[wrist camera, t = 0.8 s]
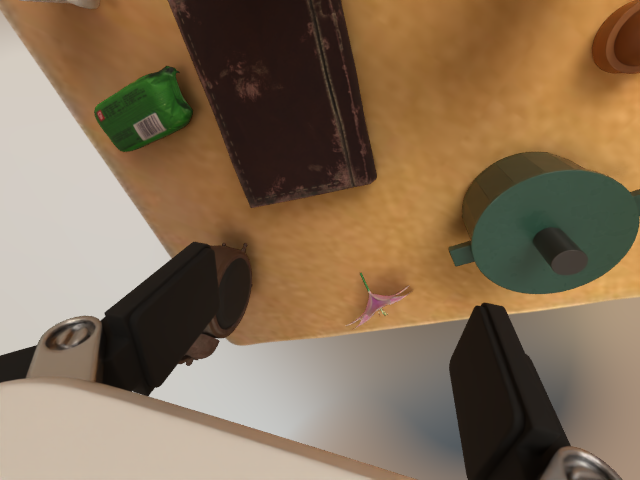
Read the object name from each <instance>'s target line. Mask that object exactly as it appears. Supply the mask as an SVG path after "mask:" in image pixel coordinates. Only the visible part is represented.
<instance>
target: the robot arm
mask: <svg viewBox="0 0 640 480" xmlns="http://www.w3.org/2000/svg"><path fill="white" fill-rule="evenodd" d="M219 308H220V297H219V287H218V278H217V269H216V259H215V252H214V250H213V249H211V246H210V245H208V244H203V243H198V242H193V243H191V244H190V245H189V246H187V247H186V248H185V249H184V250H182V251H181V252H180V253H179V254H177V255H176V256H175V257H174V258H172V259H171V260H170V261H169V262H167V263H166V264H165V265H164V266H162V267H161V268H160V269H159V270H157V271H156V272H155V273H154V274H152V275H151V276H150V277H149V278H147V279H146V280H145V281H144V282H142V283H141V284H140V285H139V286H137V287H136V288H135V289H134V290H132V291H131V292H130V293H129V294H127V295H126V296H125V297H124V298H122V299H121V300H120V301H119V302H117V303H116V304H115V305H114V306H112V307H111V308H110V309H109V310H107V311H106V312H105V316H106V317H104V318H103V319H102V320H101V321H99V319H97V318H95V317H92V316H79V317H74V318H70V319H67V320H65V321H63V322H60V323H58V324H56V325H55V326H53V327H52V328H50V329H49V330H48V331H47V332H46V333H44V334H43V335H42V337H41V339H40V340H39V342H38V345H36V346H33V347H29V348H26V349H22V350H18V351H15V352H11V353H8V354H4V355H1V356H0V480H416V479H414V478H410V477H407V476H404V475H400V474H398V473H394V472H391V471H388V470H385V469H382V468H379V467H375V466H372V465H369V464H366V463H362V462H359V461H356V460H353V459H350V458H347V457H344V456H340V455H337V454H334V453H331V452H328V451H325V450H321V449H318V448H315V447H312V446H309V445H305V444H302V443H299V442H295V441H292V440H289V439H286V438H282V437H279V436H276V435H273V434H270V433H267V432H263V431H260V430H257V429H253V428H250V427H247V426H244V425H241V424H237V423H234V422H231V421H228V420H224V419H221V418H218V417H214V416H211V415H208V414H204V413H201V412H198V411H195V410H191V409H188V408H184V407H181V406H178V405H174V404H171V403H168V402H165V401H162V400H158V399H154V398H151V397H148V396H149V394H150V393H151V392H152V391H153V389H154V388H155V387H156V388H157V387H159V386H161V385H162V383H163V382H164V381H165V380H166V378H167V377H168V376H169V375H170V373H171V372H172V371H173V369H174V368H175V367H176V365H177V364H178V363H179V362H180V360H181V359H182V358H183V356H184V355H185V354H186V353H187V351H188V350H189V349H190V347H191V346H192V345H193V343H194V342H195V341H196V340H197V338H198V337H199V336H200V334H201V333H202V332H203V331H204V329H205V328H206V327H207V325H208V324H209V323H210V322H211V320H212V319H213V318H214V316H215V315H216V314H217V312H218V310H219ZM449 371H450V377H451V383H452V389H453V395H454V402H455V408H456V414H457V419H458V426H459V431H460V438H461V443H462V450H463V456H464V462H465V468H466V474H467V478H468V480H622V478H621V477H620V476H619V475H618V474H617V473H616V472H615V471H614V470H613V469H612V468H611V467H610V466H609V465H607V464H606V463H605V462H604V461H602V460H601V459H600V458H598V457H597V456H595V455H593V454H592V453H590V452H588V451H585V450H583V449H581V448H577V447H572V446H571V445H570V443H569V441H568V439H567V437H566V434H565V432H564V430H563V428H562V426H561V424H560V421H559V419H558V417H557V415H556V413H555V410H554V409H553V406H552V404H551V402H550V400H549V397H548V395H547V393H546V391H545V389H544V386H543V384H542V382H541V380H540V378H539V376H538V373H537V371H536V369H535V367H534V365H533V363H532V360H531V359H530V358H529V356H528V355H526V354H525V352H524V350H523V348H522V345H521V343H520V341H519V339H518V337H517V334H516V332H515V330H514V327H513V325H512V323H511V321H510V319H509V316H508V314H507V312H506V310H505V308H504V307H503V306H498V305H494V304H489V303H482V304H481V306H475V307H474V309H473V311H472V314H471V316H470V318H469V320H468V322H467V325H466V327H465V329H464V331H463V334H462V336H461V338H460V340H459V342H458V344H457V346H456V349H455V351H454V353H453V355H452V357H451V360H450V364H449ZM132 391H133V392H132ZM134 392H136V393H134ZM137 393H139V394H137ZM140 394H142V395H140Z"/></svg>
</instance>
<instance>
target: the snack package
mask: <svg viewBox="0 0 640 480" xmlns="http://www.w3.org/2000/svg"><path fill="white" fill-rule="evenodd" d="M177 72H178V73H179V71H177V70H176V69H175V68H173V67H169V66H166V67H165V68H163V69H162V70H161V71H159V72H156V73H151V74H148V75H145V76H143V77H141V78H139V79H138V80H136V81H134V82H132V83H130V84H129V85H128V86H126V87H124V88H123V89H121V90H120V91H119V92H117V93H115V94H114V95H112V96H111V97H109V98H107V99H106V100H104V101H103V102H101V103H99V104H98V105H97V106H96V107H95V111H94V113H95V117H96V119H97V122H98V123H99V125H100V126H101V128H102V129H103V130H104V132H105V133H106V134H107V135H108V137H109V138H110V140H111V141H112V142H113V144H114V145H115V146H116V147H117V148H118V149H119V150H120V151H123V152H128V151H133V150H136V149H139V148H141V147H144V146H146V145H148V144H149V143H151V142H153V141H156V140H158V139H161V138H163V137H165V136H167V135H170V134H172V133H174V132H176V131H178V130H179V129H181V128H183V127H185V126H186V125H187V124H188V123H189V122H190V119H191V117H192V115H193V110H192V108H191V107H190V106H189V105H188V104H187V102H186V101H185V99H184V98H183V96H182V94H181V91H180V88H179V86H178V83H177V79H176V73H177Z"/></svg>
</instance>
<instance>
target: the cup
mask: <svg viewBox="0 0 640 480" xmlns="http://www.w3.org/2000/svg"><path fill="white" fill-rule="evenodd" d="M21 1H34V2H53V3H72V4H74V5H77V6H80V7H83V8H88V9H96V8H98V7H99V4H100V0H21Z"/></svg>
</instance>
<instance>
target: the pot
mask: <svg viewBox="0 0 640 480" xmlns="http://www.w3.org/2000/svg"><path fill="white" fill-rule="evenodd" d="M566 168H567V169H584V168H582V167H581V166H579V165H577V164H575V163H573V162H572V161H570V160H568V159H565V158H562V157H559V156H557V155H554V154H550V153H547V152H526V153H520V154H515V155H512V156H509V157H506V158H504V159H502V160H499V161H497V162H496V163H494V164H492V165H491V166H489V167H488V168H486V169H485V170H484V171H483V172H482V173H480V174H479V175H478V176H477V178H476V179H475V180H474V181H473V182H472V184H471V185H470V187H469V188H468V190H467V192H466V195H465V197H464V200H463V205H462V218H463V221H464V224H465V226H466V229H467V232H468V234H469V237H470V239H471V234H472V229H473V227H474V224H475V221H476V219H477V218H478V216H479V214H480V213H481V211H482V210H483V209H484V207H485V206H486V205H487V204H488V203H489V202H490V201H491V199H492V198H494V197H495V196H496V195H497V194H498V193H500V192H501V191H502V190H504V189H505V188H507V187H508V186H510V185H511V184H513V183H515V182H517V181H519V180H521V179H523V178H526V177H528V176H531V175H534V174H537V173H541V172H545V171H550V170H555V169H566ZM584 170H586V169H584ZM630 193H631V195H632V196H633V197H634V200H635V202H636V204H637V207H638V211H639V216H640V189H639V190H635V191H632V192H630ZM449 252H450V254H451V257H452V259H453V262H454V264H455V266H460V265H464V264H467V263H471V262H475V261H474V258H473V255H472V251H471V241H468V242H464V243H461V244H458V245H455V246H451V247H449Z"/></svg>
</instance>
